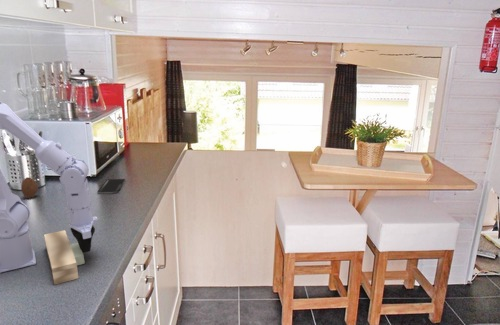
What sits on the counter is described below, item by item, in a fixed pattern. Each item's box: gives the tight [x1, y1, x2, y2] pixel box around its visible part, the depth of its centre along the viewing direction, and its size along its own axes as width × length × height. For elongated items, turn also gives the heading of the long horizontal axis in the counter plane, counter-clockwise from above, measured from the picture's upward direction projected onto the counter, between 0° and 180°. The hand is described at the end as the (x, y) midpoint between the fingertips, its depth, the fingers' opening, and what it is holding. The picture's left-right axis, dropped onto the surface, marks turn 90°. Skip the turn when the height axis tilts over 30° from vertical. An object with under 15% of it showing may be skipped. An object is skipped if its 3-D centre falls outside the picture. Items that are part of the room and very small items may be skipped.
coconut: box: [20, 177, 39, 199], centre depth 147 cm, size 5×5×8 cm
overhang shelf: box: [43, 230, 79, 286], centre depth 106 cm, size 6×20×4 cm, turn 31°
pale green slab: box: [70, 242, 86, 266], centre depth 107 cm, size 7×8×2 cm
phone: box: [97, 178, 127, 195], centre depth 160 cm, size 8×1×15 cm
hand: (85, 251), depth 109 cm, fingers closed, pressing on pale green slab
